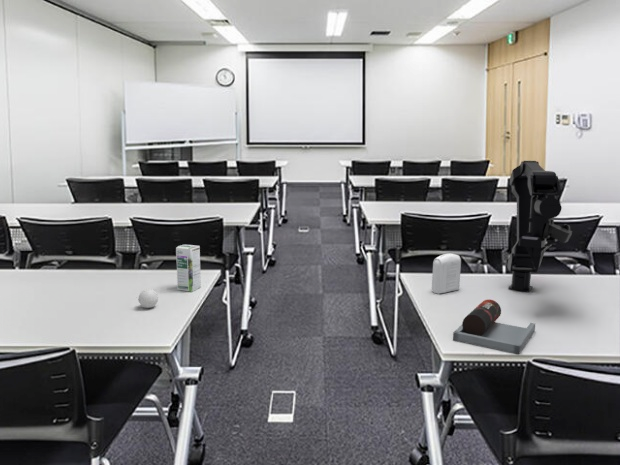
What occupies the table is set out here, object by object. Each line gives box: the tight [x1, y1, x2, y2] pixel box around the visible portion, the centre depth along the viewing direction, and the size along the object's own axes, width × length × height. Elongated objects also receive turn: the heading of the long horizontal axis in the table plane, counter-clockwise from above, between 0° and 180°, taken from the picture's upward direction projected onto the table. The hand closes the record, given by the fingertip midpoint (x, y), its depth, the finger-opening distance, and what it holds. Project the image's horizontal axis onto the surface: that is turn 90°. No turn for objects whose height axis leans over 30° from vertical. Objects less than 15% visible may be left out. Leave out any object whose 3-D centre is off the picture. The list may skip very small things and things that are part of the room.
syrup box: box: [175, 244, 202, 292], centre depth 181 cm, size 6×6×14 cm
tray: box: [452, 321, 536, 355], centre depth 142 cm, size 18×16×2 cm
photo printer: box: [431, 253, 462, 294], centre depth 179 cm, size 10×4×12 cm, turn 123°
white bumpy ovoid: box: [137, 288, 159, 309], centre depth 163 cm, size 8×6×6 cm
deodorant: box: [461, 298, 502, 336], centre depth 146 cm, size 6×6×15 cm
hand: (536, 267), depth 162 cm, fingers closed
